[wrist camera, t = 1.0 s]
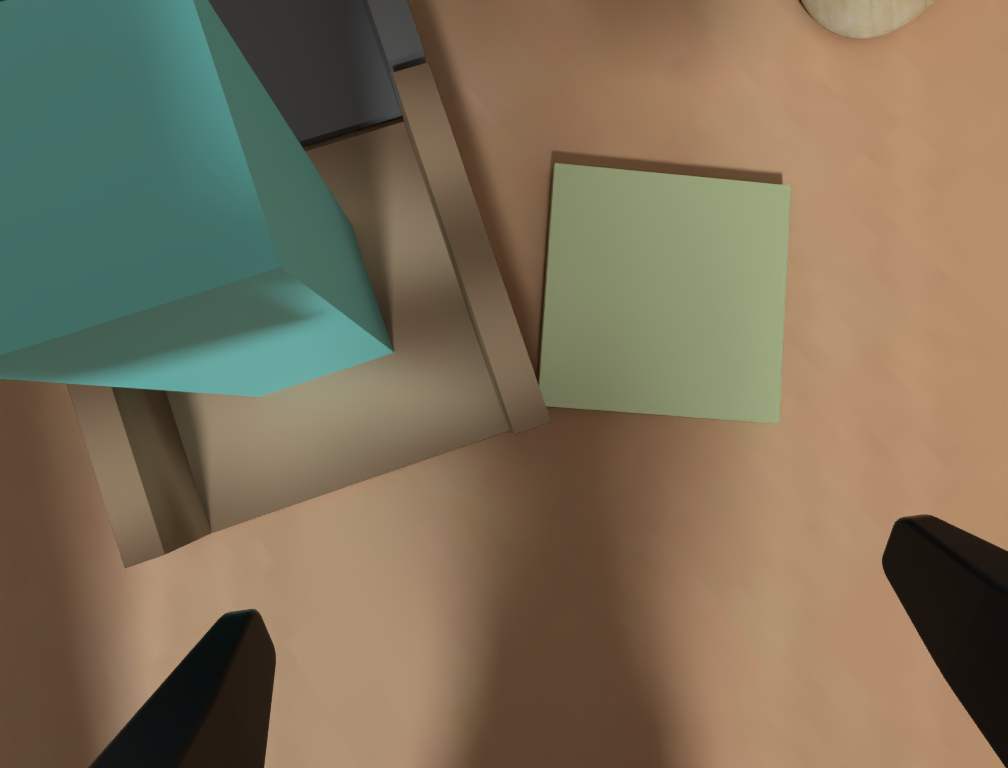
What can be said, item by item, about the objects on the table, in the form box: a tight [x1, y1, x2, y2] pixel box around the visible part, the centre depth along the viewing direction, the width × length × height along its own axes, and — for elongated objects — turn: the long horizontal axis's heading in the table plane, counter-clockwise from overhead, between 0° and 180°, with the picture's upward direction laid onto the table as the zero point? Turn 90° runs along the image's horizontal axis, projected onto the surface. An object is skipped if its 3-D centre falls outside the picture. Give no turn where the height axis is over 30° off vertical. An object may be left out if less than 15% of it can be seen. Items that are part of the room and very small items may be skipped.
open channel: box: [66, 62, 551, 568], centre depth 20 cm, size 12×13×4 cm
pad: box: [538, 163, 791, 423], centre depth 22 cm, size 9×9×1 cm
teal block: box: [0, 0, 394, 397], centre depth 15 cm, size 5×5×12 cm
